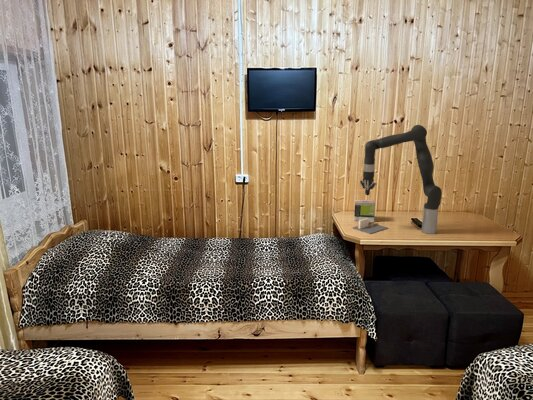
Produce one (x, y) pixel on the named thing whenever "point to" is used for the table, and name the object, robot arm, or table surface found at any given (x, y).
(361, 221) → the tile
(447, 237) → the table surface
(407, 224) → the table surface
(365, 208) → the tea box
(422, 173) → the robot arm
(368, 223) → the slot stand
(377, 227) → the mat
